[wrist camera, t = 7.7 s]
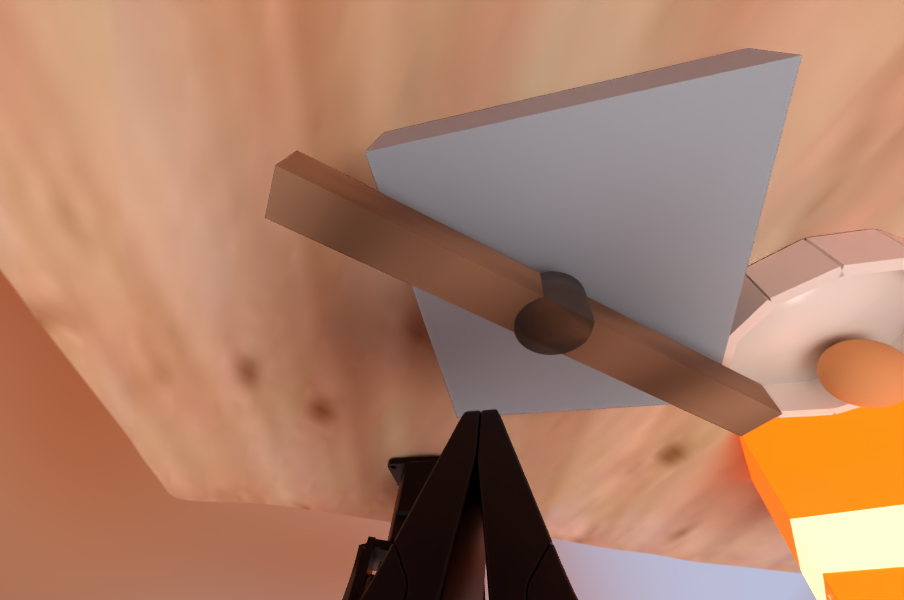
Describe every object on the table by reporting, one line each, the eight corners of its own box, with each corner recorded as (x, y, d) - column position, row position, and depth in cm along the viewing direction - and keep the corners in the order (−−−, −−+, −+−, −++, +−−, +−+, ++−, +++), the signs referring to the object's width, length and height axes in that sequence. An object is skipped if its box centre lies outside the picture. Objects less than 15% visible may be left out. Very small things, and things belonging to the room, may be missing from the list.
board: (689, 361, 23) (719, 414, 20) (461, 380, 26) (456, 428, 23) (748, 48, 14) (820, 57, 11) (384, 132, 17) (358, 158, 14)
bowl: (880, 376, 22) (917, 410, 20) (687, 389, 24) (704, 421, 22) (980, 214, 16) (1044, 240, 14) (714, 250, 18) (740, 277, 16)
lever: (771, 378, 17) (793, 407, 16) (716, 412, 19) (731, 441, 18) (300, 136, 13) (278, 150, 11) (282, 210, 14) (262, 229, 13)
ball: (789, 349, 21) (838, 337, 21) (814, 412, 20) (863, 397, 21) (863, 343, 18) (918, 328, 18) (894, 418, 17) (950, 400, 18)
